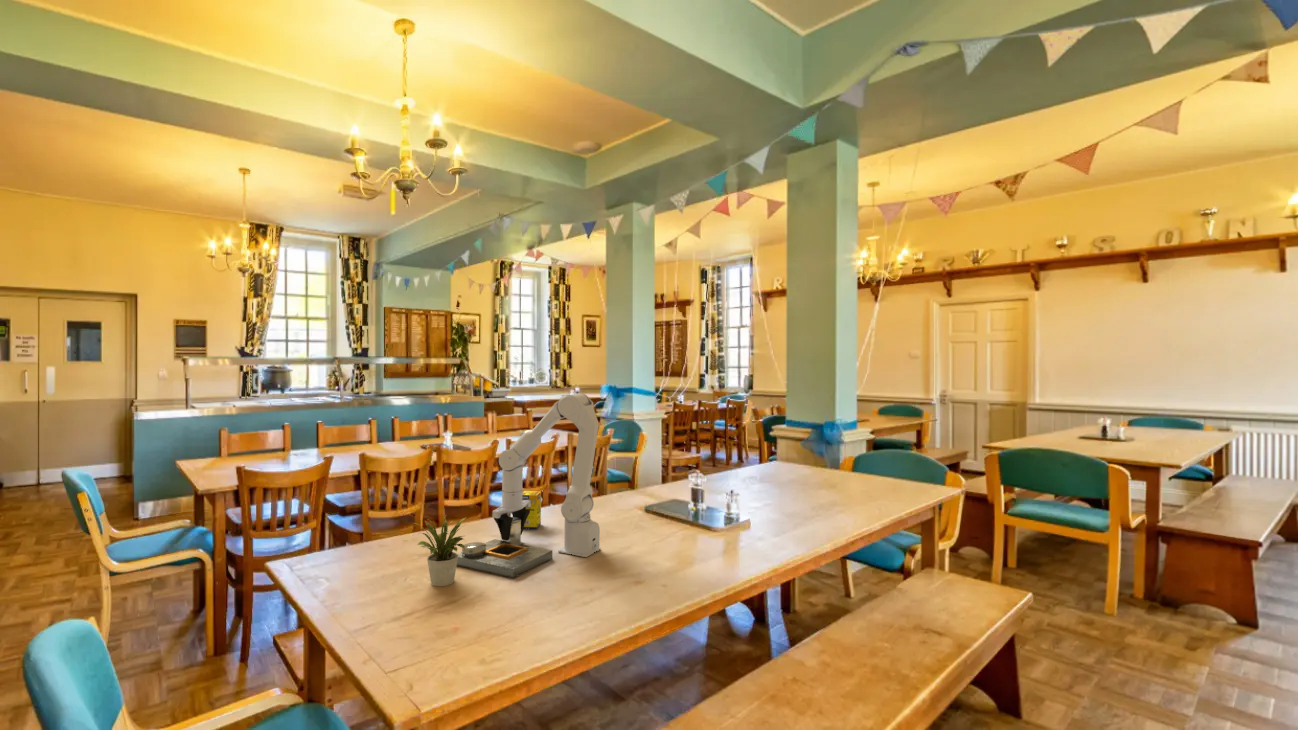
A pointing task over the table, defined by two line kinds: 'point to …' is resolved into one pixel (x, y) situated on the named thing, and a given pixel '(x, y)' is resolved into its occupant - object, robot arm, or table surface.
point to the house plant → (442, 553)
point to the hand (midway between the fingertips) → (511, 537)
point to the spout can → (515, 530)
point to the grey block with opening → (502, 557)
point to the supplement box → (533, 509)
